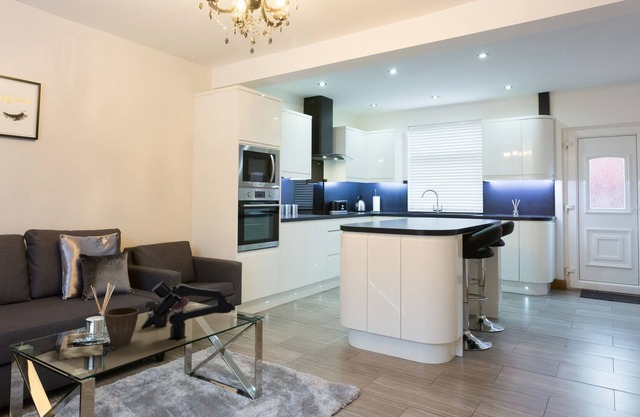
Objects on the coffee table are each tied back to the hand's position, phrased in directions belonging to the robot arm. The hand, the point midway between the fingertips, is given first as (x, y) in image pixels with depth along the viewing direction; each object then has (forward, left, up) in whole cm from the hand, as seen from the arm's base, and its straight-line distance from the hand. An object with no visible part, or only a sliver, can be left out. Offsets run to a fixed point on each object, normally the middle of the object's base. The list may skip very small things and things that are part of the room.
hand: (141, 328), depth 196 cm
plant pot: (+6, +7, -7) cm, 11 cm away
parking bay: (+16, +19, -7) cm, 25 cm away
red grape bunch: (+27, -58, -7) cm, 64 cm away
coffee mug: (+10, -25, -7) cm, 28 cm away
